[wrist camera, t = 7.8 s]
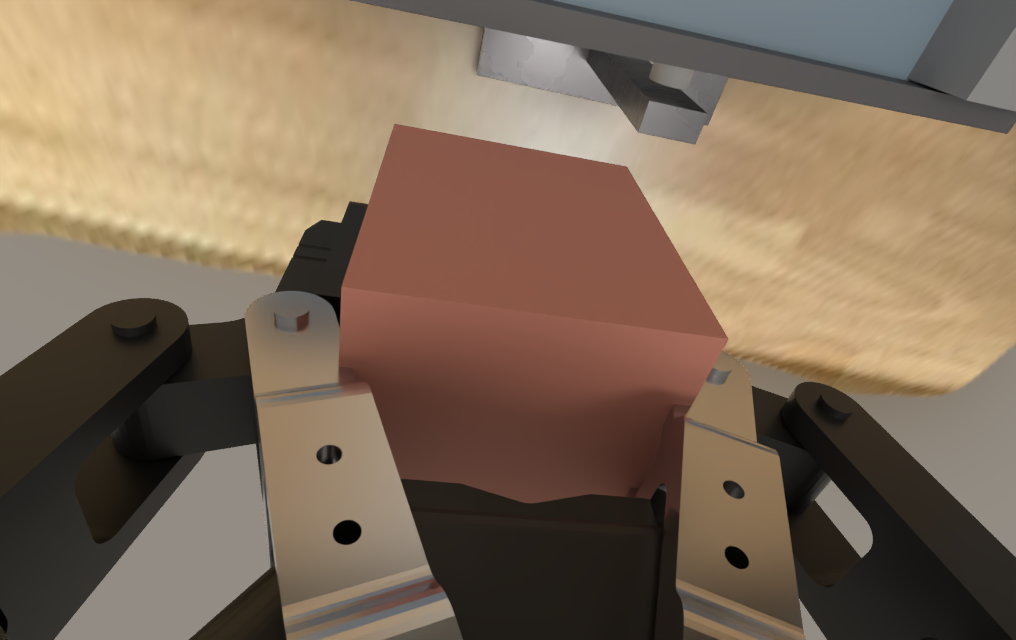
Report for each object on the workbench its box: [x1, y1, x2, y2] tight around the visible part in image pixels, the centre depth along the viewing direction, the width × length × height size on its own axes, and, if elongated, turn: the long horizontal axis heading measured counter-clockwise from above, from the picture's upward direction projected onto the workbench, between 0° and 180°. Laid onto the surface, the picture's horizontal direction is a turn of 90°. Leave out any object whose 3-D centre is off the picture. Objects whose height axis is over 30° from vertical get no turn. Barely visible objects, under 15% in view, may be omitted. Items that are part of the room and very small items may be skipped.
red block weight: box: [338, 124, 728, 503], centre depth 11 cm, size 5×5×6 cm
